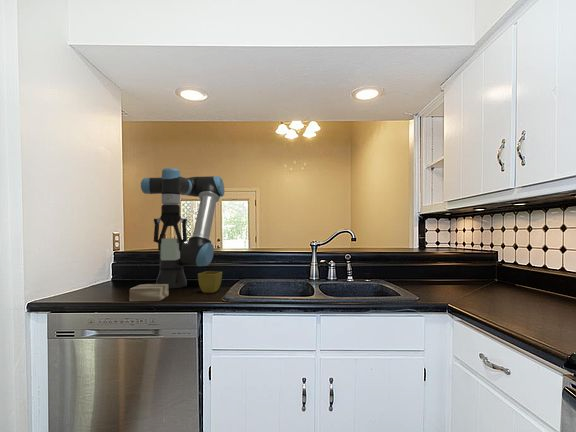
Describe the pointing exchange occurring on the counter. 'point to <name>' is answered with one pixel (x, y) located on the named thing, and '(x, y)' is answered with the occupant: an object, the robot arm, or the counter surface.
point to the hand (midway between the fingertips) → (170, 258)
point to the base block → (149, 292)
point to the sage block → (169, 248)
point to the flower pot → (209, 281)
